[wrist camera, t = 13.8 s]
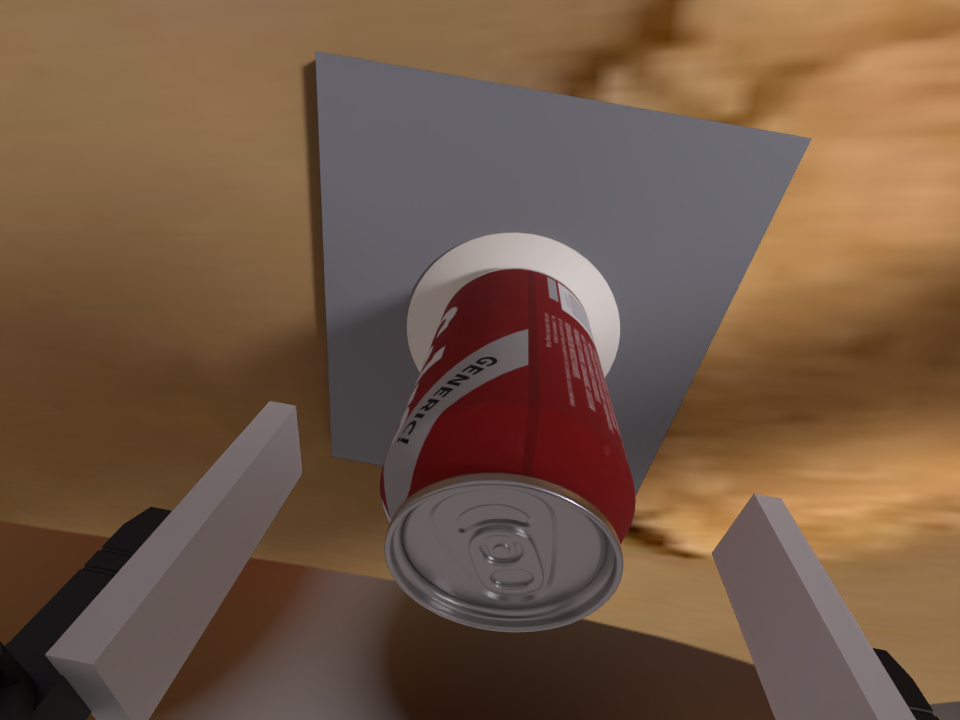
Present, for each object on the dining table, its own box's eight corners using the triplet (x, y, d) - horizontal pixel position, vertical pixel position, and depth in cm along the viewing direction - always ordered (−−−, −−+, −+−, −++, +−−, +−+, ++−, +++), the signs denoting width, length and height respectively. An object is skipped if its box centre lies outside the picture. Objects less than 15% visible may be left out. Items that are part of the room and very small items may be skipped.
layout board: (326, 53, 16) (312, 50, 15) (796, 136, 16) (814, 139, 15) (337, 445, 27) (330, 459, 26) (625, 496, 27) (629, 512, 26)
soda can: (576, 245, 18) (641, 437, 8) (597, 379, 21) (662, 640, 11) (423, 280, 19) (307, 480, 9) (464, 400, 23) (412, 649, 12)
